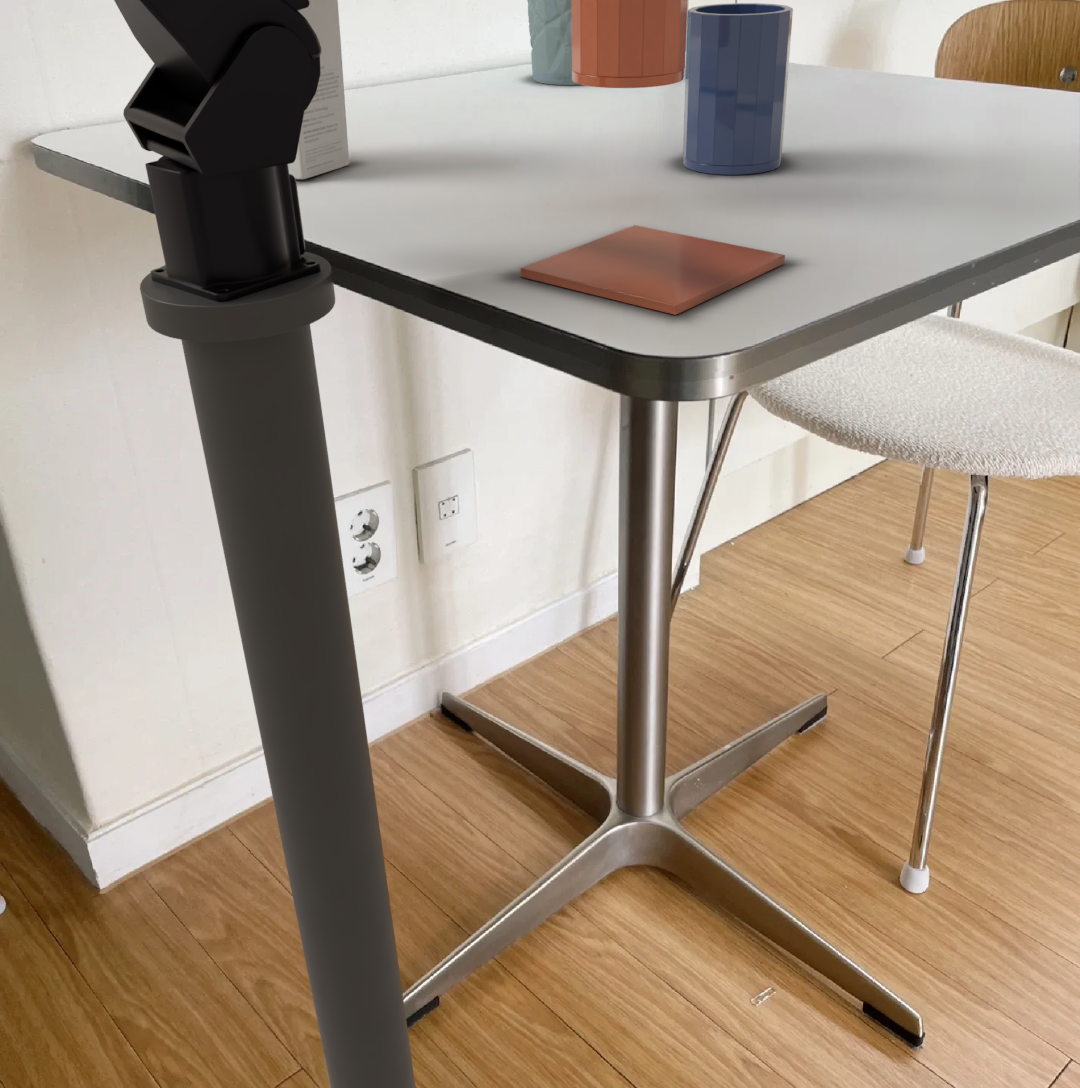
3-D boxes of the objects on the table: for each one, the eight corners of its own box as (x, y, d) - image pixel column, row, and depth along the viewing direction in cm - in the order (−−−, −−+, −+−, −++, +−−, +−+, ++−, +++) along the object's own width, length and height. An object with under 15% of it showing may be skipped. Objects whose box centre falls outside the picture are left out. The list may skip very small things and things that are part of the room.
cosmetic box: (216, 172, 84) (177, -58, 76) (269, 155, 88) (237, -63, 81) (308, 182, 80) (277, -58, 73) (359, 164, 85) (334, -64, 77)
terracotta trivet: (675, 315, 55) (676, 305, 55) (520, 277, 61) (519, 267, 60) (784, 263, 61) (785, 254, 61) (634, 233, 67) (634, 224, 67)
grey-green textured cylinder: (523, 72, 119) (519, -58, 113) (620, 67, 120) (620, -62, 114) (532, 88, 110) (528, -52, 104) (636, 83, 111) (638, -56, 105)
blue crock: (746, 179, 77) (756, 17, 72) (664, 166, 81) (668, 11, 76) (798, 160, 82) (811, 6, 76) (717, 149, 85) (725, 1, 80)
